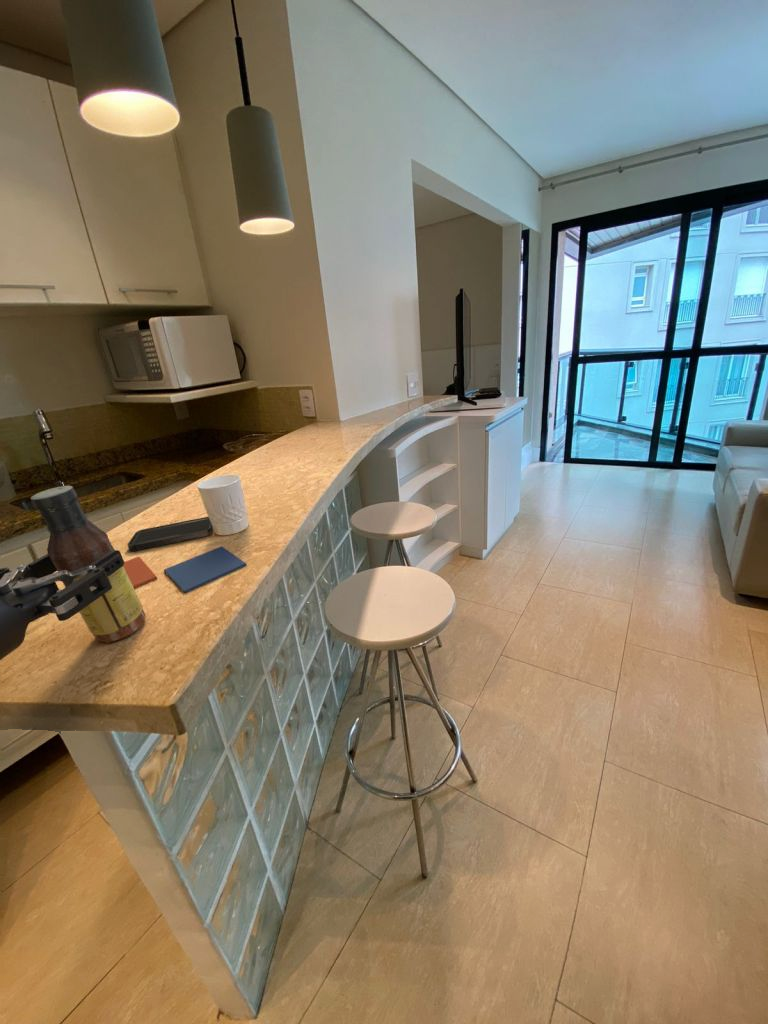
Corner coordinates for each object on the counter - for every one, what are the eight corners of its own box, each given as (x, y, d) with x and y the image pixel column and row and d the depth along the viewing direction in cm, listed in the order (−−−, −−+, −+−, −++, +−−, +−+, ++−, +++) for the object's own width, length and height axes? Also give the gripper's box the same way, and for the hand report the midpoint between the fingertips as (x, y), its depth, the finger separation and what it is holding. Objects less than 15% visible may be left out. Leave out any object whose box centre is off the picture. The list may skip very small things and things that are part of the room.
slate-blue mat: (184, 593, 61) (183, 591, 61) (164, 571, 68) (163, 569, 68) (246, 565, 67) (246, 563, 67) (222, 547, 74) (221, 546, 74)
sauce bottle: (144, 608, 58) (89, 476, 50) (151, 629, 53) (92, 487, 45) (90, 630, 55) (22, 492, 47) (92, 654, 50) (18, 505, 42)
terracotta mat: (77, 611, 59) (76, 609, 59) (67, 585, 67) (66, 583, 67) (157, 578, 66) (156, 576, 66) (139, 558, 73) (139, 556, 73)
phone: (137, 530, 83) (214, 515, 86) (139, 535, 83) (215, 520, 86) (125, 547, 76) (210, 529, 79) (127, 552, 76) (211, 535, 79)
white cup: (219, 541, 76) (204, 491, 73) (206, 529, 82) (191, 483, 78) (258, 526, 81) (246, 479, 77) (243, 516, 87) (231, 472, 83)
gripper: (-21, 618, 33) (128, 528, 47) (-148, 613, 35) (29, 530, 50) (22, 687, 35) (150, 583, 50) (-99, 678, 38) (55, 582, 53)
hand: (90, 556), depth 50 cm, fingers open, 8 cm apart
